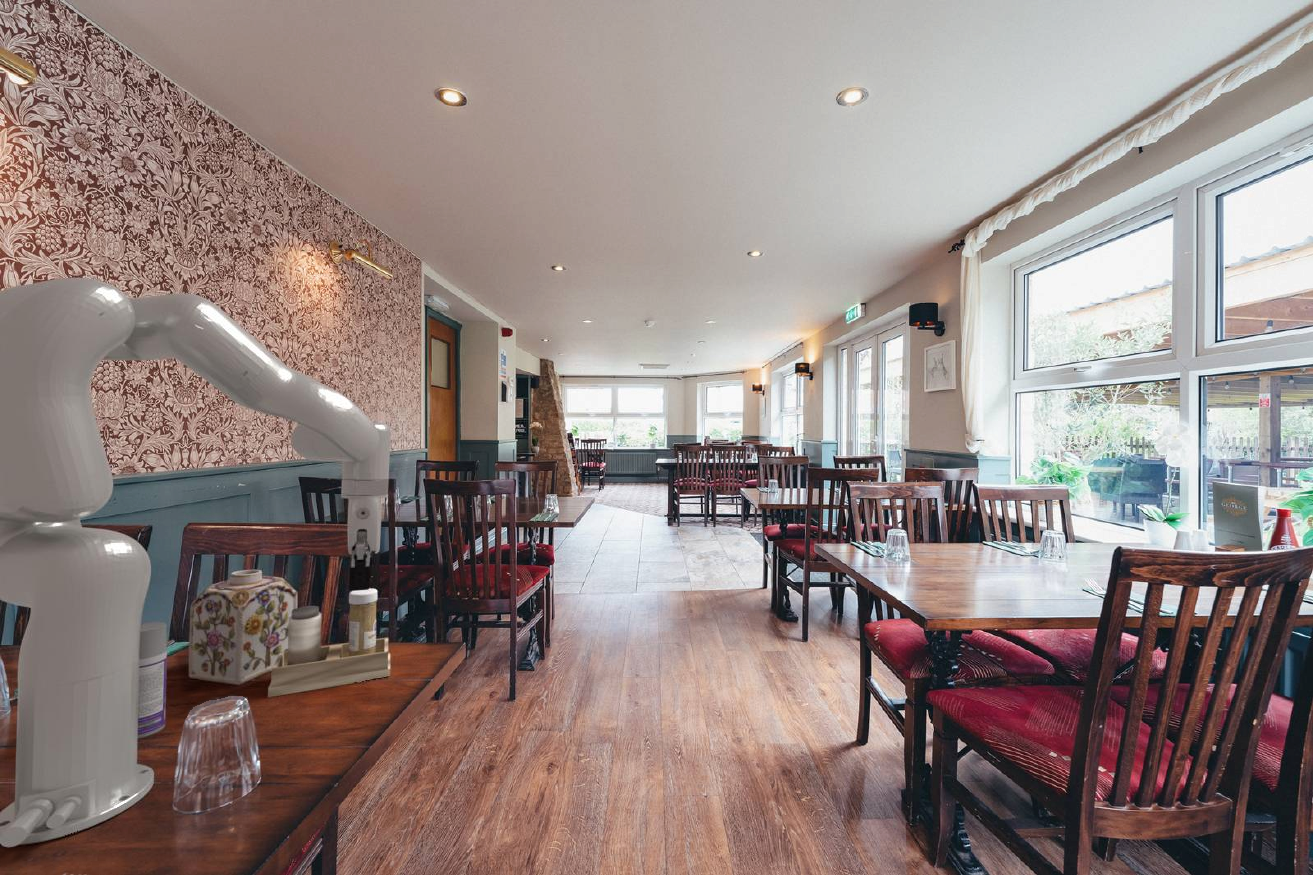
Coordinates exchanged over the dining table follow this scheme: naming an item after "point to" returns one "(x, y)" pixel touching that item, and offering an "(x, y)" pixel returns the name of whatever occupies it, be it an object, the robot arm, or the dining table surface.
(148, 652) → the container
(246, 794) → the dining table surface
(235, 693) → the dining table surface
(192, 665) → the decorative jar
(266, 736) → the dining table surface
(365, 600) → the sprinkles bottle
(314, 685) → the wooden caddy
